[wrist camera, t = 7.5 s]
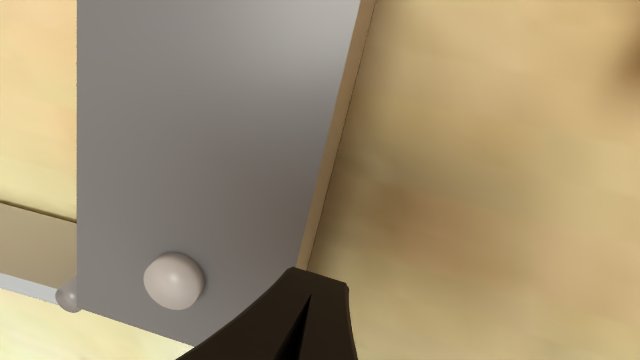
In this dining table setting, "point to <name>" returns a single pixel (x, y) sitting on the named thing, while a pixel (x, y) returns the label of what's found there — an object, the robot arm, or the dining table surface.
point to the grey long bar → (38, 256)
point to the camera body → (205, 150)
